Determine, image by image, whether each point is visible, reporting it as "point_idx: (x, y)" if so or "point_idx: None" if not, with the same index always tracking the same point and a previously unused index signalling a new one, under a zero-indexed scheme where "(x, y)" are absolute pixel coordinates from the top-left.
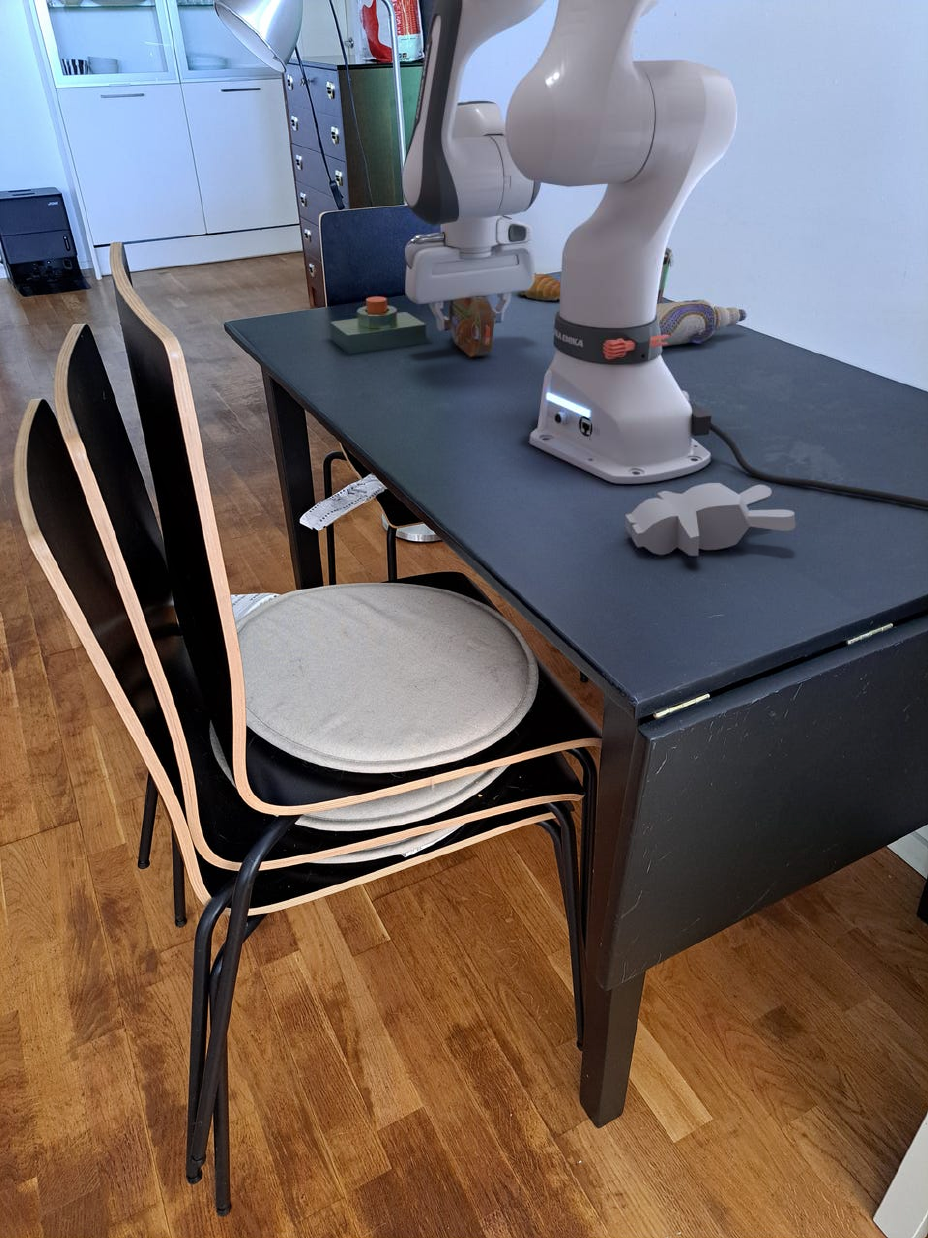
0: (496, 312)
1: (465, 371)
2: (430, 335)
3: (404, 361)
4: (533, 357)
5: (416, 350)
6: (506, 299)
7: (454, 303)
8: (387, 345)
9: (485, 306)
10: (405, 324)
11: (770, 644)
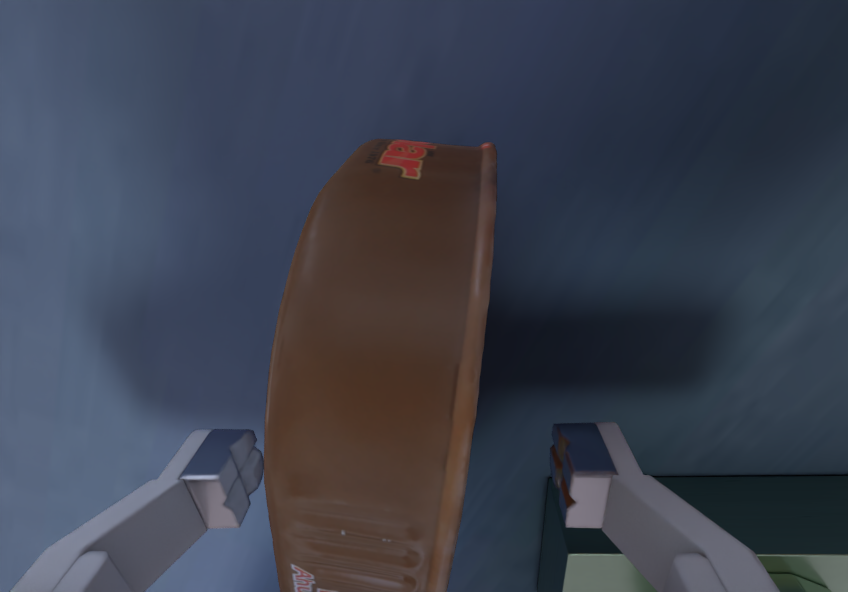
0: (214, 478)
1: (612, 30)
2: (487, 533)
3: (779, 326)
4: (133, 121)
5: (633, 426)
6: (83, 552)
7: None
8: (732, 488)
9: (348, 383)
10: None
11: None
